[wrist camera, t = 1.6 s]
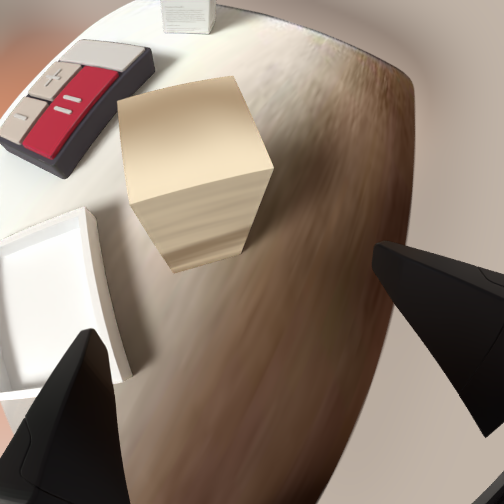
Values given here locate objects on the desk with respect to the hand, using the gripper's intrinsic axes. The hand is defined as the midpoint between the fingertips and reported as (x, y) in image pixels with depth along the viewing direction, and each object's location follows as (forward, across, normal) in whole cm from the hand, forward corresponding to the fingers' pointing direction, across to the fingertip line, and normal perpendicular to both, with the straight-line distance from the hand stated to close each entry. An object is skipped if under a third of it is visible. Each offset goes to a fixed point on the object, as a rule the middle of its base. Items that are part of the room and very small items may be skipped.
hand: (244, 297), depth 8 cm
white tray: (+11, +14, +6) cm, 19 cm away
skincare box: (+33, -4, -15) cm, 36 cm away
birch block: (+13, 0, +4) cm, 14 cm away
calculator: (+26, +10, -8) cm, 29 cm away
